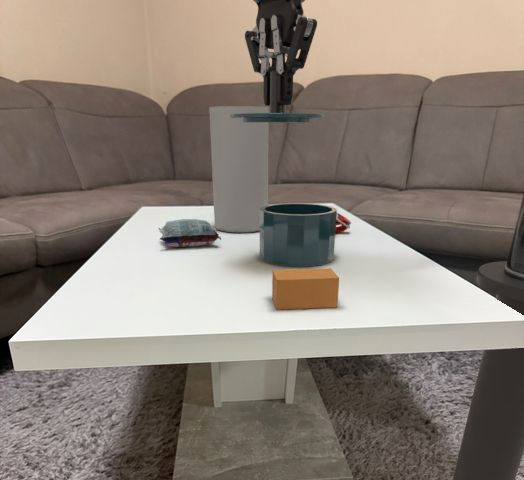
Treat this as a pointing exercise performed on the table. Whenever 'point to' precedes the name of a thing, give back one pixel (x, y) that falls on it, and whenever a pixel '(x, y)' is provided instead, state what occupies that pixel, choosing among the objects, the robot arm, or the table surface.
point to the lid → (276, 110)
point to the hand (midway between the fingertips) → (277, 104)
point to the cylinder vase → (238, 168)
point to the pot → (297, 234)
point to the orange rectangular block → (305, 288)
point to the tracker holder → (342, 223)
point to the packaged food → (188, 233)
